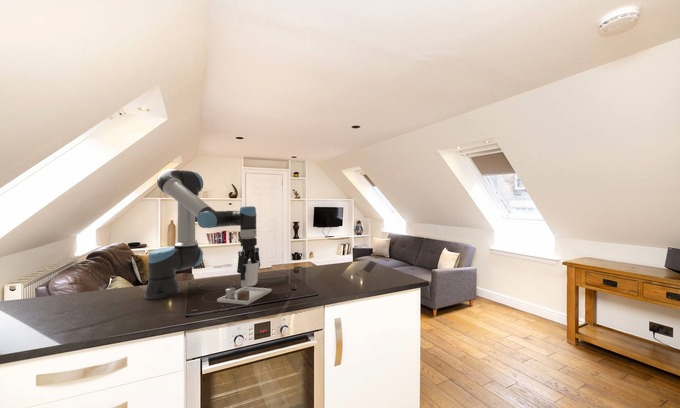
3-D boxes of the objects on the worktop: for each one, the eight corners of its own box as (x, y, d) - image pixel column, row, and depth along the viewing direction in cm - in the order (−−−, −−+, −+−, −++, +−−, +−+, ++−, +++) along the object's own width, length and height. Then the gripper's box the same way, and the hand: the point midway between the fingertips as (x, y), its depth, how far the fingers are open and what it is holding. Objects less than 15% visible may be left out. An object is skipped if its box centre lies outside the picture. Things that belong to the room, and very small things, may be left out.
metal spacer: (223, 300, 129) (223, 289, 129) (229, 297, 133) (229, 287, 133) (231, 301, 128) (231, 290, 128) (236, 298, 132) (236, 287, 132)
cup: (256, 287, 133) (256, 264, 133) (235, 287, 133) (235, 264, 133) (262, 281, 143) (262, 260, 143) (243, 282, 143) (242, 260, 143)
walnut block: (237, 302, 127) (237, 293, 127) (240, 299, 131) (240, 290, 131) (246, 302, 127) (246, 293, 127) (249, 299, 131) (249, 290, 131)
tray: (217, 304, 128) (217, 298, 128) (244, 291, 147) (244, 286, 147) (247, 307, 123) (247, 301, 123) (271, 293, 142) (271, 288, 142)
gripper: (241, 240, 127) (242, 291, 127) (266, 235, 147) (267, 279, 147) (227, 240, 129) (228, 289, 129) (254, 235, 150) (255, 278, 149)
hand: (249, 284), depth 138 cm, fingers closed on cup, 8 cm apart
